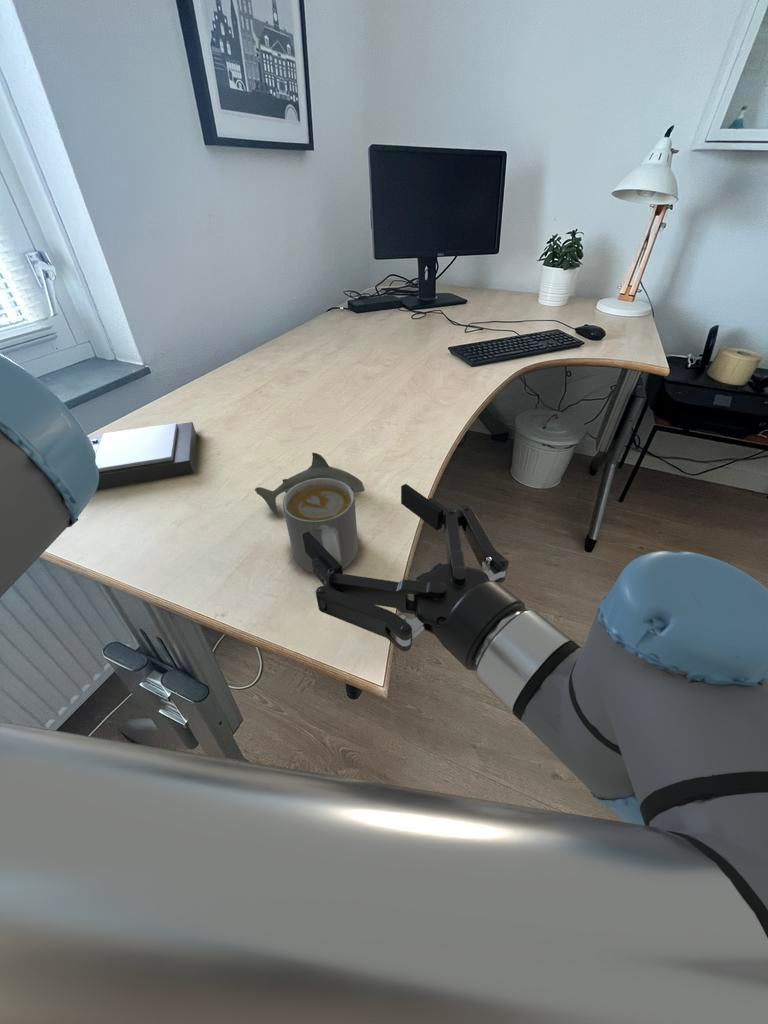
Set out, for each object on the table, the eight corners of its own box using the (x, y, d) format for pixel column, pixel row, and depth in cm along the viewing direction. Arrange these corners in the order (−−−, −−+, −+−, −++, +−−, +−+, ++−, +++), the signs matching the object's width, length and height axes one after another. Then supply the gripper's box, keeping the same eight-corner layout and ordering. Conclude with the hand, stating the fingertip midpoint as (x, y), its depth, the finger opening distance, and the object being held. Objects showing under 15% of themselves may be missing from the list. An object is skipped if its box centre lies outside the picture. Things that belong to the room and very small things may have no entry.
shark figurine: (358, 523, 71) (356, 487, 66) (261, 516, 73) (251, 480, 68) (372, 474, 82) (370, 439, 77) (287, 468, 84) (280, 434, 79)
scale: (78, 493, 79) (68, 475, 77) (96, 449, 91) (88, 433, 88) (193, 473, 83) (187, 456, 81) (196, 434, 95) (191, 418, 93)
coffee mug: (295, 530, 70) (285, 480, 64) (356, 526, 71) (352, 475, 64) (289, 595, 60) (276, 543, 53) (361, 589, 60) (357, 536, 54)
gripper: (387, 756, 34) (265, 590, 47) (575, 596, 45) (435, 499, 58) (385, 709, 29) (250, 539, 42) (596, 544, 40) (439, 451, 53)
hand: (357, 516), depth 50 cm, fingers open, 13 cm apart
